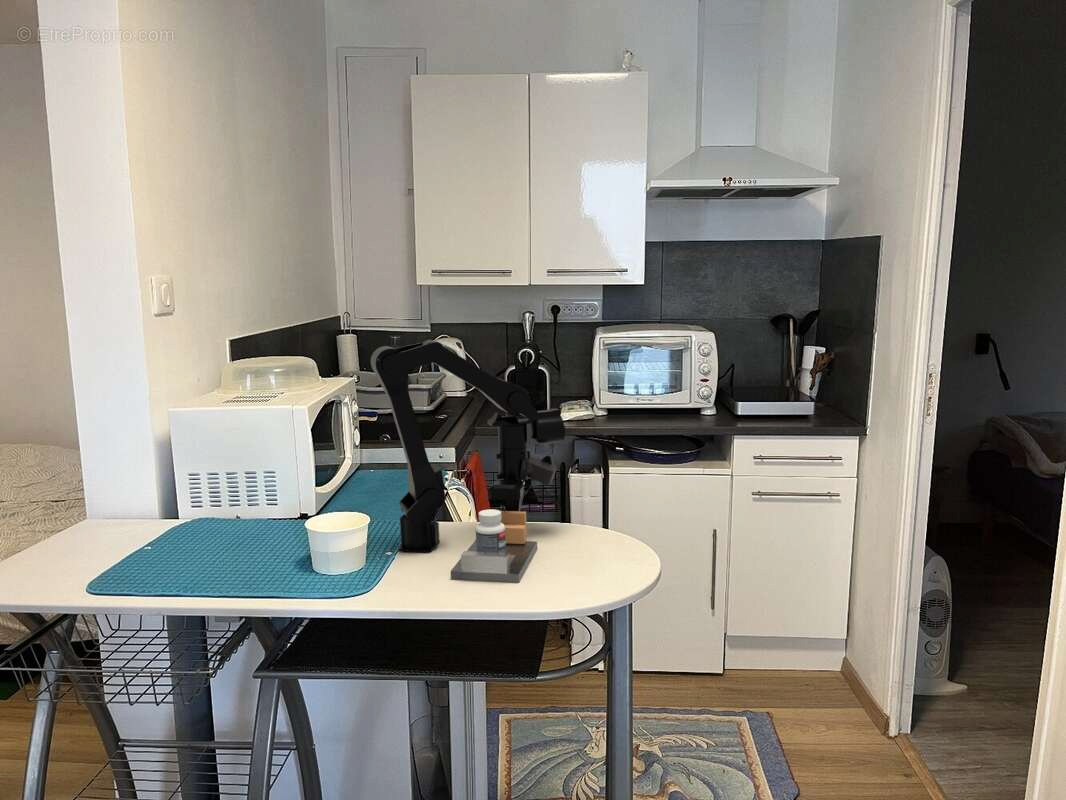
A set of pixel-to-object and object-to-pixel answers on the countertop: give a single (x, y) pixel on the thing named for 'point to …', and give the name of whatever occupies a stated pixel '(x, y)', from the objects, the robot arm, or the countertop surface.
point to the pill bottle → (490, 532)
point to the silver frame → (494, 563)
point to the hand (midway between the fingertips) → (515, 522)
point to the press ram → (514, 526)
